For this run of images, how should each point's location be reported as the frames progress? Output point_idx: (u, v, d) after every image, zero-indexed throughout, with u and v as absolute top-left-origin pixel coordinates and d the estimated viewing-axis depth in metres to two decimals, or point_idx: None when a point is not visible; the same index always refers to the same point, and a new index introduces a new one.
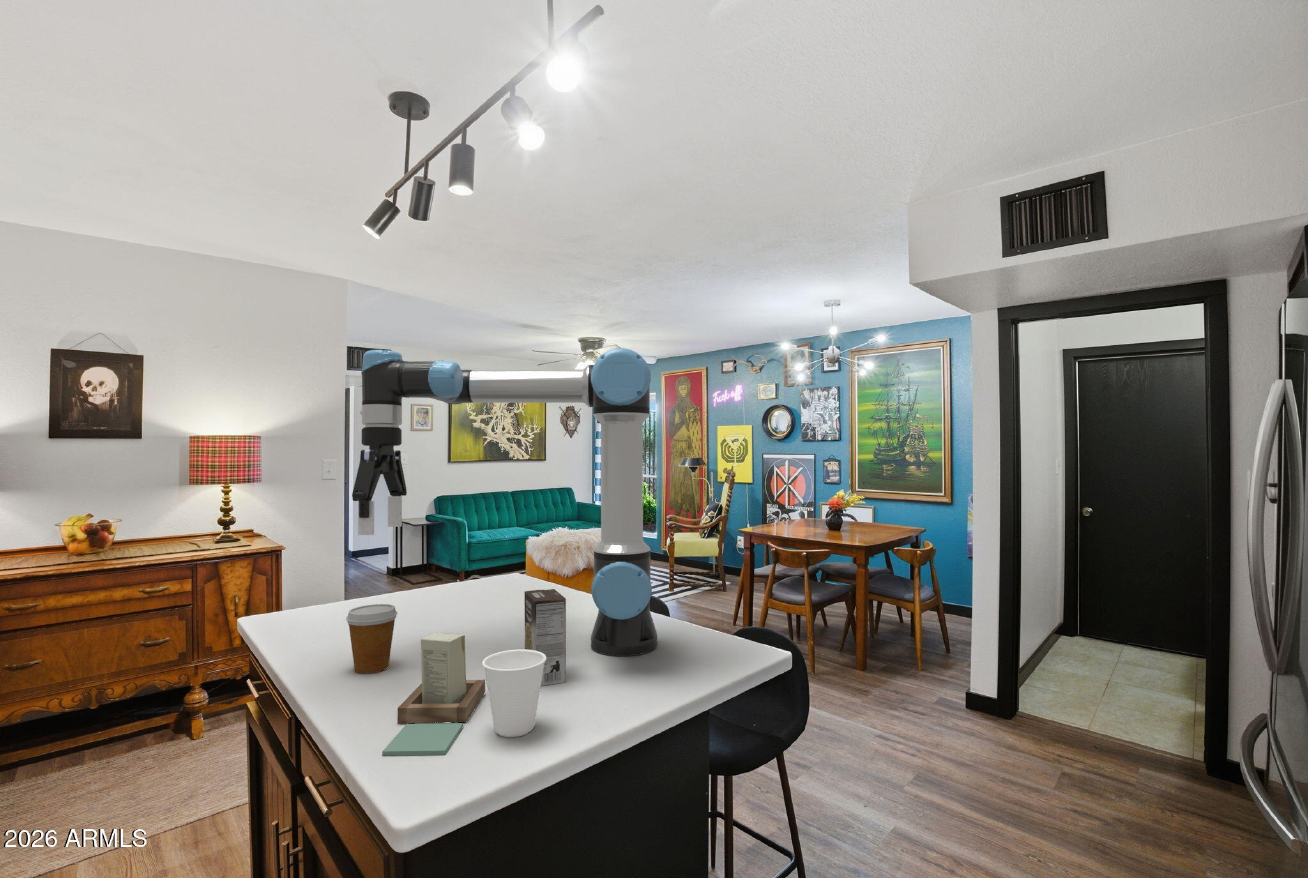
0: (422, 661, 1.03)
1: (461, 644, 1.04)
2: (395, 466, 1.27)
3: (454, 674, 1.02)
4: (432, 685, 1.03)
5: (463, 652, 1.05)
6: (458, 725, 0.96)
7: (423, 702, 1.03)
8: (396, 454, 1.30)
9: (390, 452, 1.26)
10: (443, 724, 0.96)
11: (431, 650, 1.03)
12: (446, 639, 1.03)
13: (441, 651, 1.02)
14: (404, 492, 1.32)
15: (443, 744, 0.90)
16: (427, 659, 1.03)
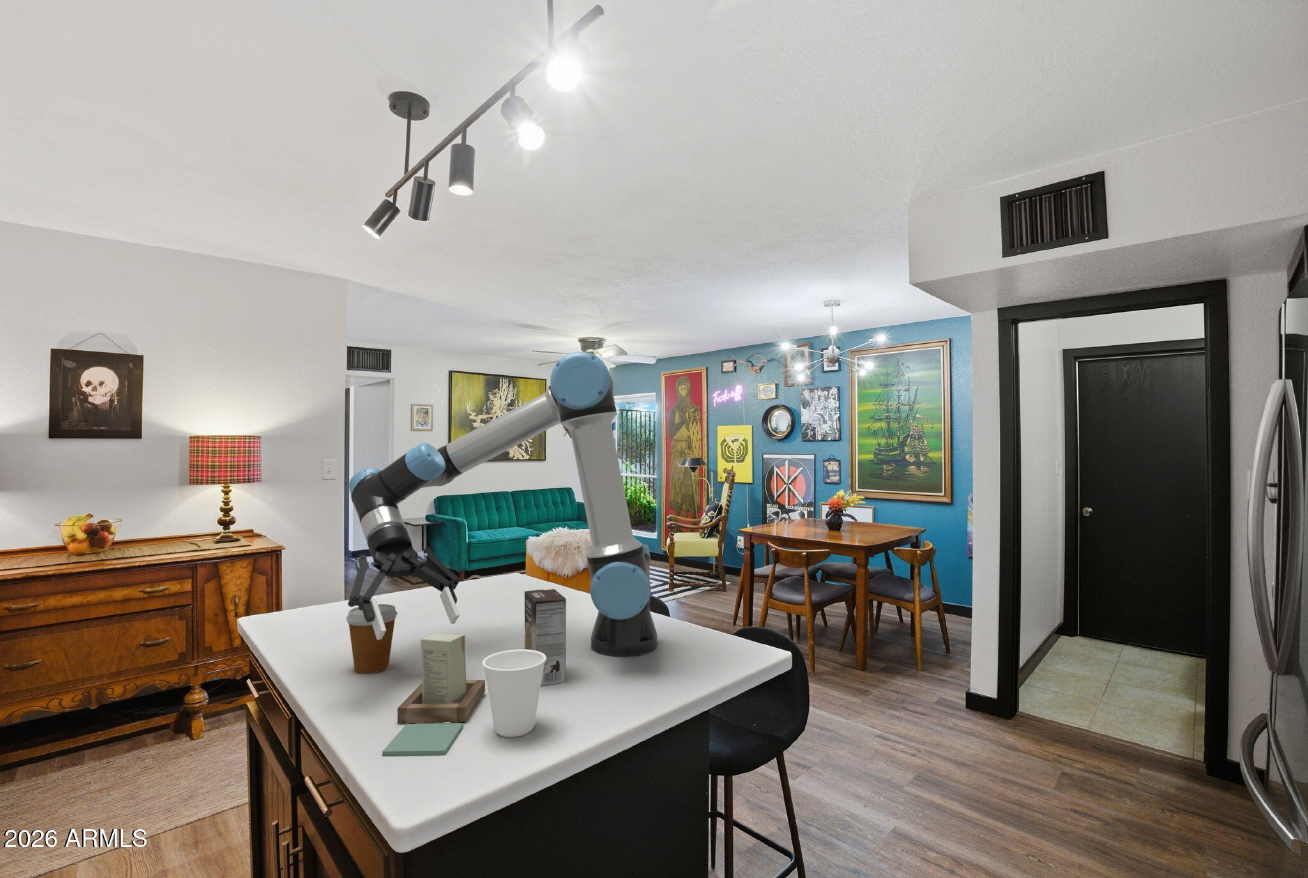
0: (422, 661, 1.03)
1: (461, 644, 1.04)
2: (416, 561, 1.17)
3: (454, 674, 1.02)
4: (432, 685, 1.03)
5: (463, 652, 1.05)
6: (458, 725, 0.96)
7: (423, 702, 1.03)
8: (424, 552, 1.21)
9: (404, 552, 1.18)
10: (443, 724, 0.96)
11: (431, 650, 1.03)
12: (446, 639, 1.03)
13: (441, 651, 1.02)
14: (450, 582, 1.18)
15: (443, 744, 0.90)
16: (427, 659, 1.03)
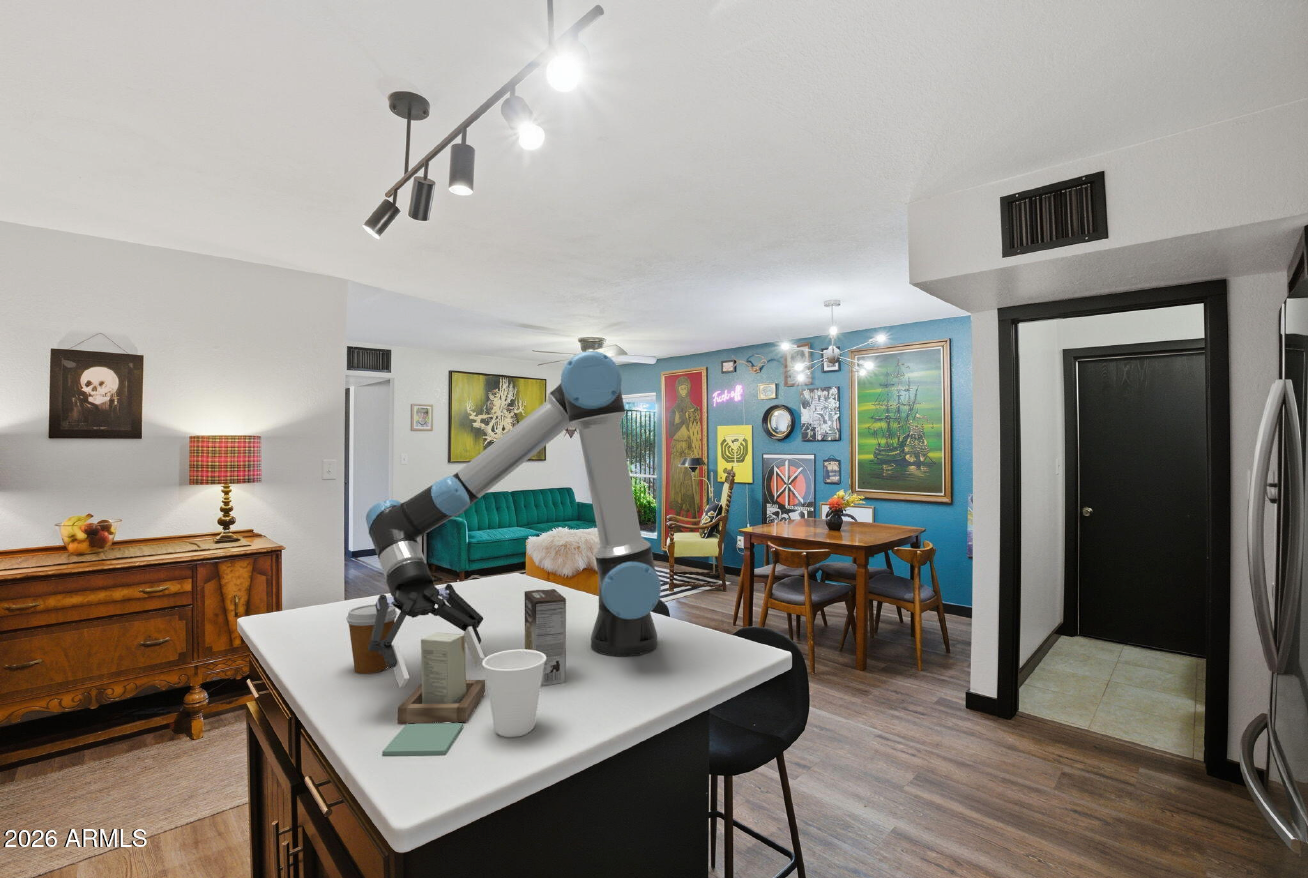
0: (422, 661, 1.03)
1: (461, 644, 1.04)
2: (437, 599, 1.11)
3: (454, 674, 1.02)
4: (432, 685, 1.03)
5: (463, 652, 1.05)
6: (458, 725, 0.96)
7: (423, 702, 1.03)
8: (446, 589, 1.15)
9: (425, 589, 1.12)
10: (443, 724, 0.96)
11: (431, 650, 1.03)
12: (446, 639, 1.03)
13: (441, 651, 1.02)
14: (474, 621, 1.12)
15: (443, 744, 0.90)
16: (427, 659, 1.03)
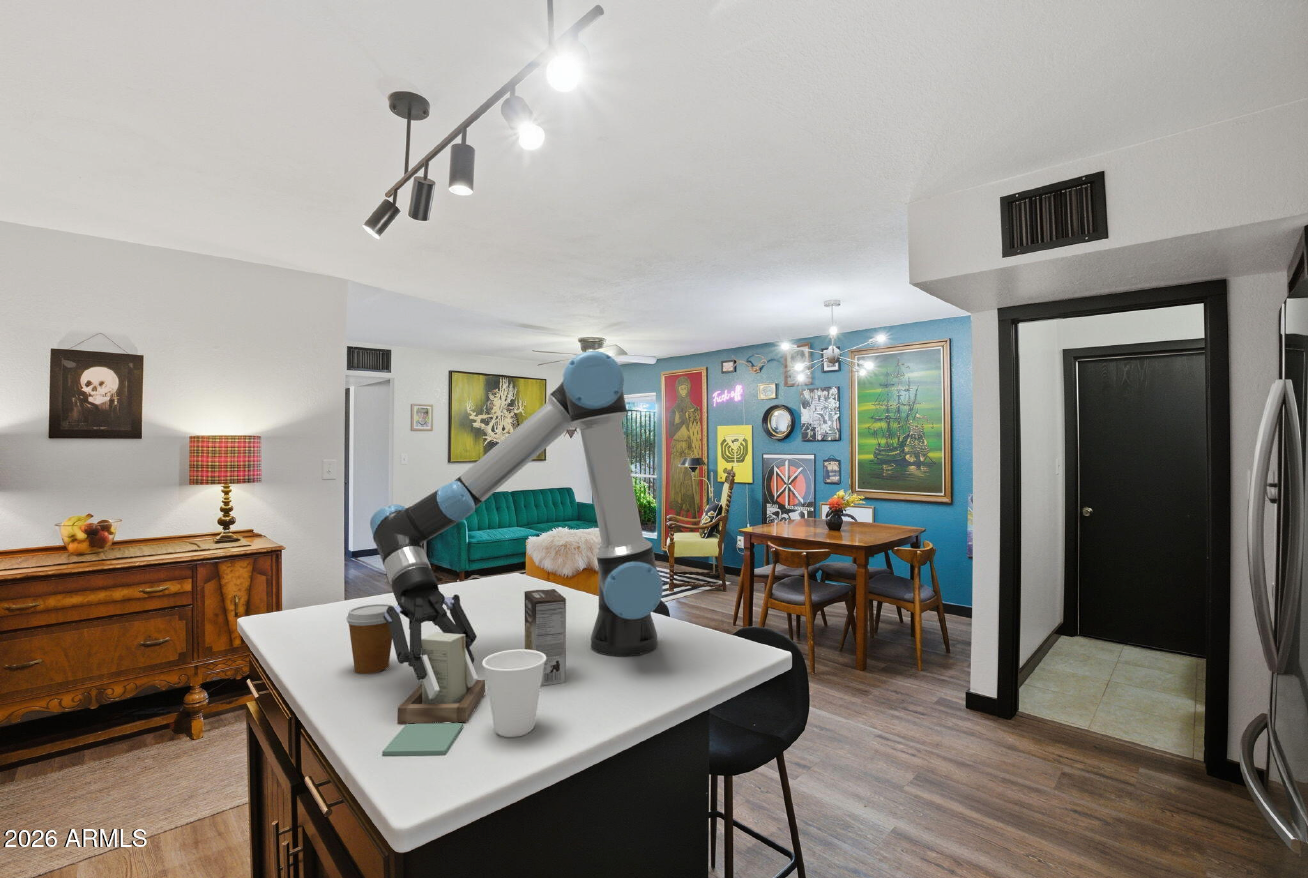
0: None
1: (461, 644, 1.04)
2: (440, 608, 1.10)
3: (454, 674, 1.02)
4: None
5: (463, 652, 1.05)
6: (458, 725, 0.96)
7: (423, 702, 1.03)
8: (452, 599, 1.14)
9: (431, 593, 1.12)
10: (443, 724, 0.96)
11: (431, 650, 1.03)
12: (446, 639, 1.03)
13: (442, 651, 1.02)
14: None
15: (443, 744, 0.90)
16: None
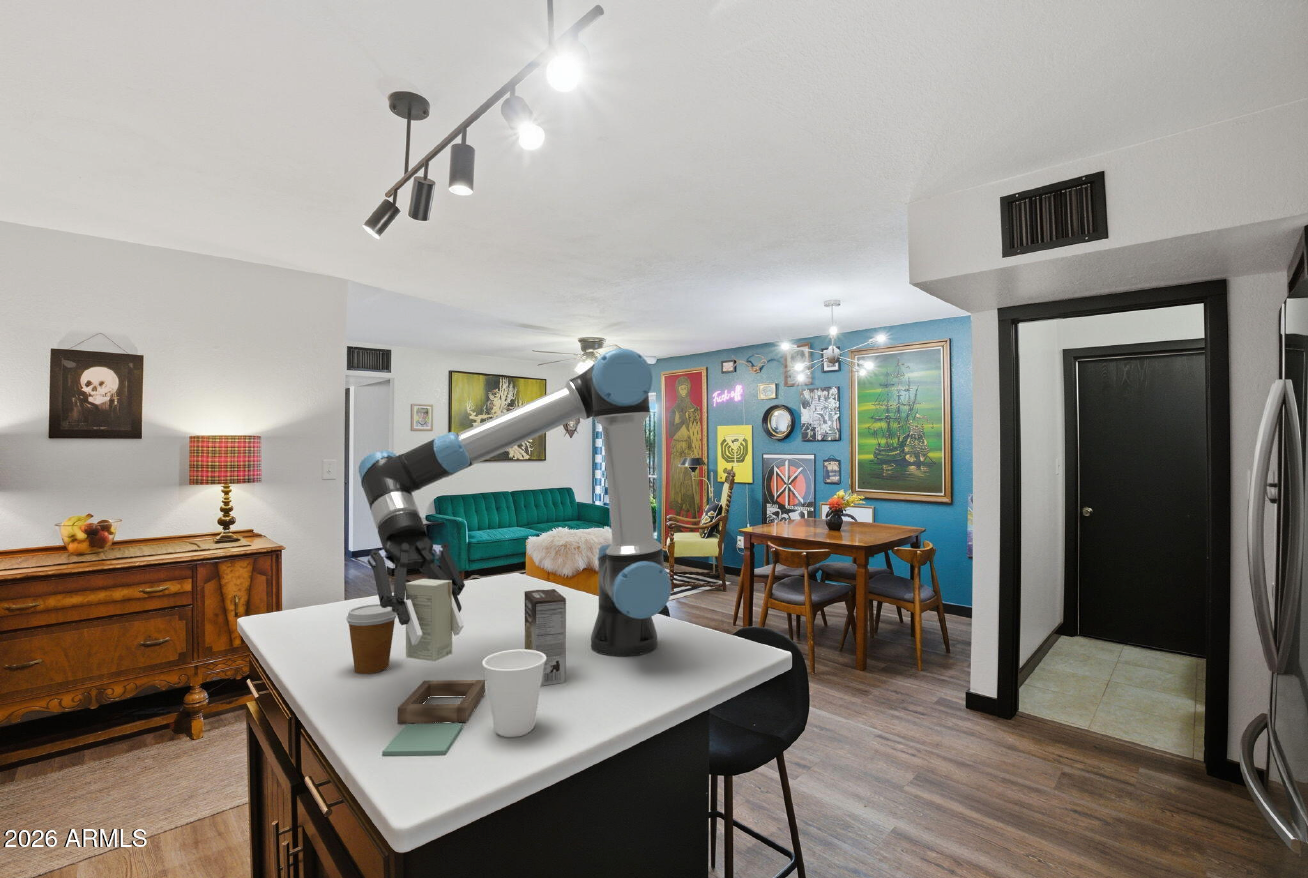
0: None
1: (447, 590, 1.00)
2: (427, 555, 1.05)
3: (439, 621, 0.98)
4: None
5: (449, 598, 1.00)
6: (458, 725, 0.96)
7: (407, 649, 0.99)
8: (441, 547, 1.09)
9: (419, 539, 1.07)
10: (443, 724, 0.96)
11: (415, 594, 0.98)
12: (431, 583, 0.98)
13: (426, 596, 0.97)
14: None
15: (443, 744, 0.90)
16: None
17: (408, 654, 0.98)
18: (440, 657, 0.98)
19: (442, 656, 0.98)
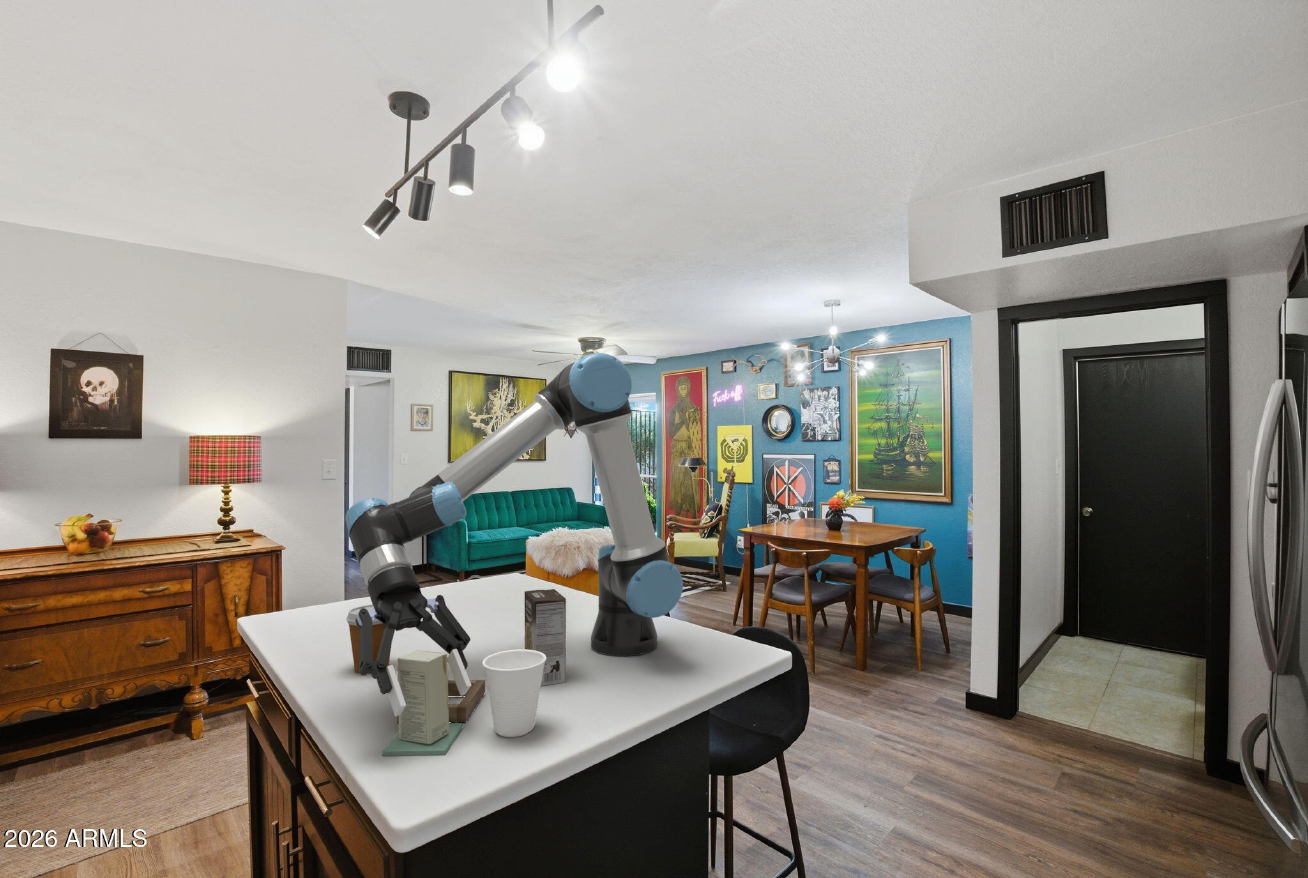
0: (399, 683, 0.92)
1: (442, 664, 0.92)
2: (423, 612, 0.98)
3: (433, 699, 0.90)
4: (409, 711, 0.91)
5: (445, 673, 0.93)
6: (458, 725, 0.96)
7: (400, 730, 0.91)
8: (436, 600, 1.02)
9: (412, 597, 1.00)
10: None
11: (408, 671, 0.91)
12: (425, 659, 0.91)
13: (419, 672, 0.90)
14: (459, 642, 0.98)
15: (443, 744, 0.90)
16: (404, 681, 0.91)
17: (401, 735, 0.91)
18: (435, 739, 0.90)
19: (437, 737, 0.91)
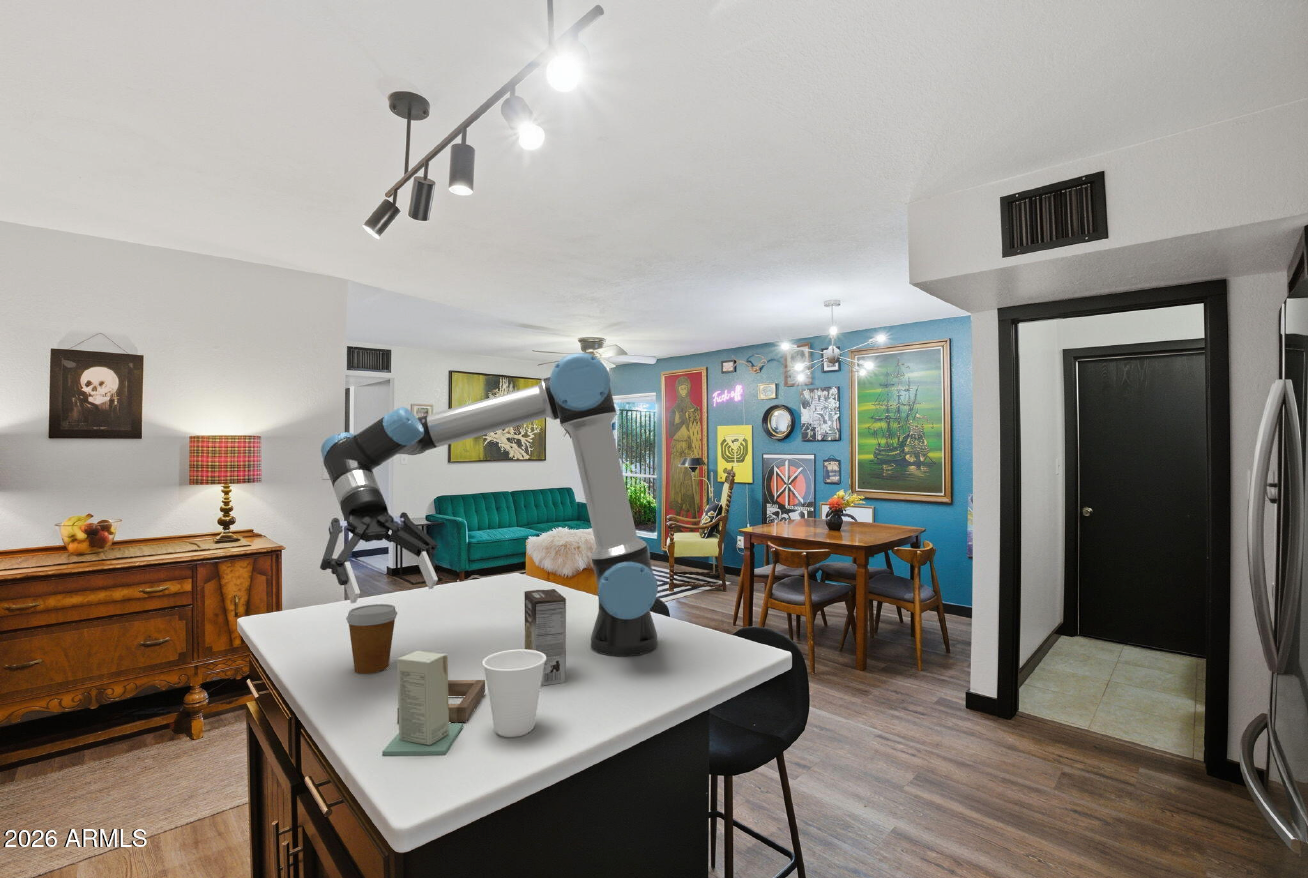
0: (399, 683, 0.91)
1: (442, 665, 0.92)
2: (391, 525, 1.13)
3: (433, 700, 0.90)
4: (409, 711, 0.91)
5: (445, 674, 0.93)
6: (458, 725, 0.96)
7: (400, 730, 0.91)
8: (401, 517, 1.17)
9: (380, 516, 1.14)
10: None
11: (408, 671, 0.91)
12: (425, 659, 0.91)
13: (419, 673, 0.90)
14: (428, 546, 1.14)
15: (443, 744, 0.90)
16: (404, 682, 0.91)
17: (401, 736, 0.91)
18: (435, 739, 0.90)
19: (437, 738, 0.91)
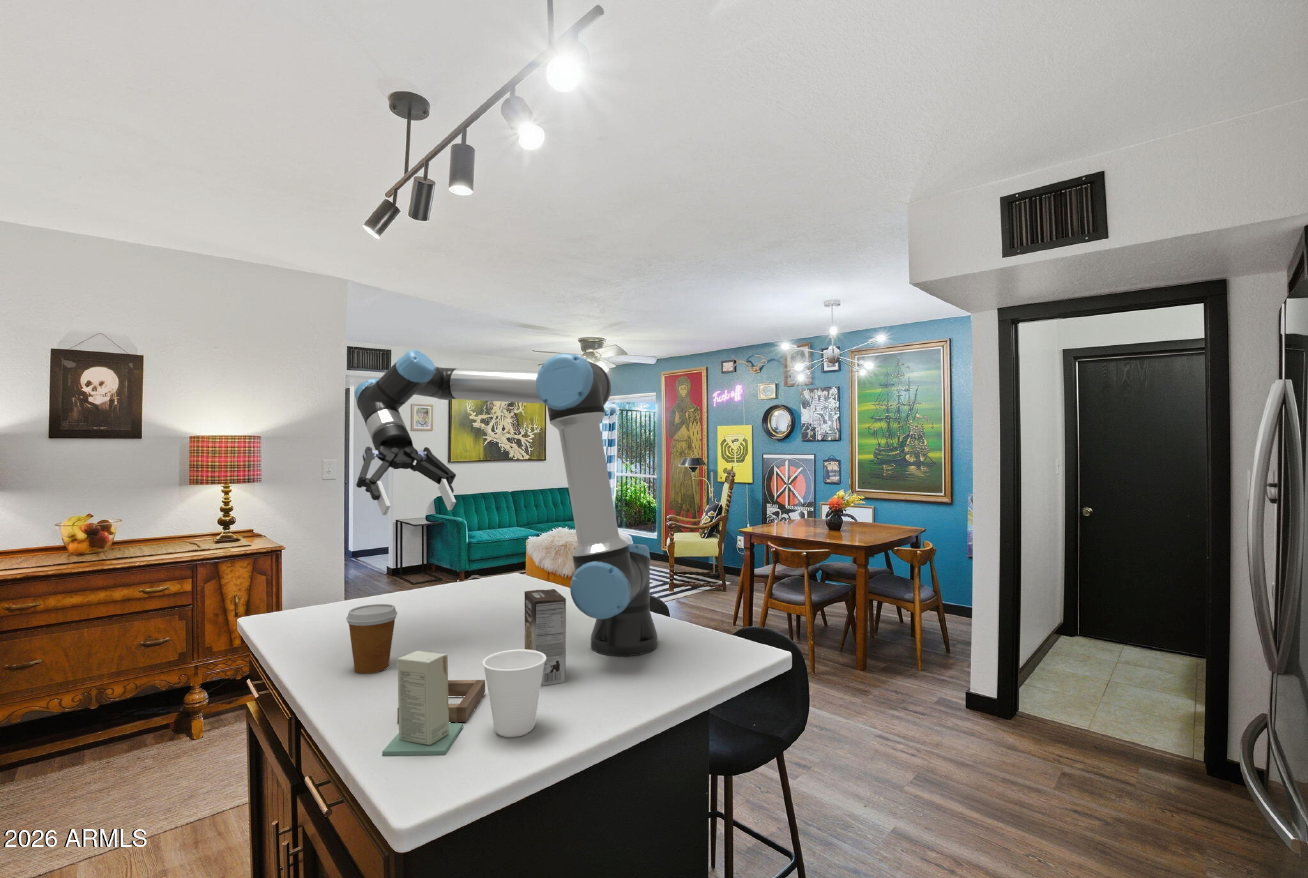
0: (399, 683, 0.91)
1: (442, 665, 0.92)
2: (416, 456, 1.30)
3: (433, 700, 0.90)
4: (409, 711, 0.91)
5: (445, 674, 0.93)
6: (458, 725, 0.96)
7: (400, 730, 0.91)
8: (424, 451, 1.34)
9: None
10: None
11: (408, 671, 0.91)
12: (425, 659, 0.91)
13: (419, 673, 0.90)
14: None
15: (443, 744, 0.90)
16: (404, 682, 0.91)
17: (401, 736, 0.91)
18: (435, 739, 0.90)
19: (437, 738, 0.91)
